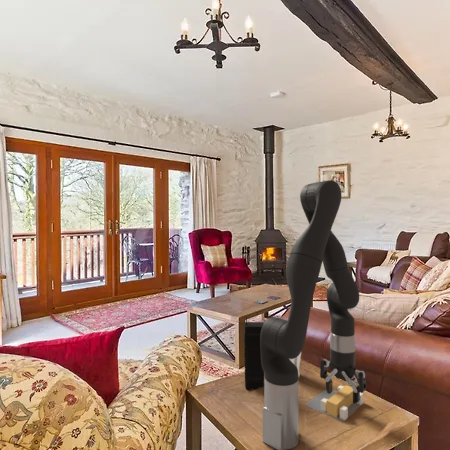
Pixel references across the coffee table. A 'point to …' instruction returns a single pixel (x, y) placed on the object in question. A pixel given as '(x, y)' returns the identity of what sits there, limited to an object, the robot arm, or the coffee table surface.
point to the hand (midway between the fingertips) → (342, 397)
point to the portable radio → (253, 355)
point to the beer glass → (296, 362)
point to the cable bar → (340, 401)
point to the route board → (326, 395)
